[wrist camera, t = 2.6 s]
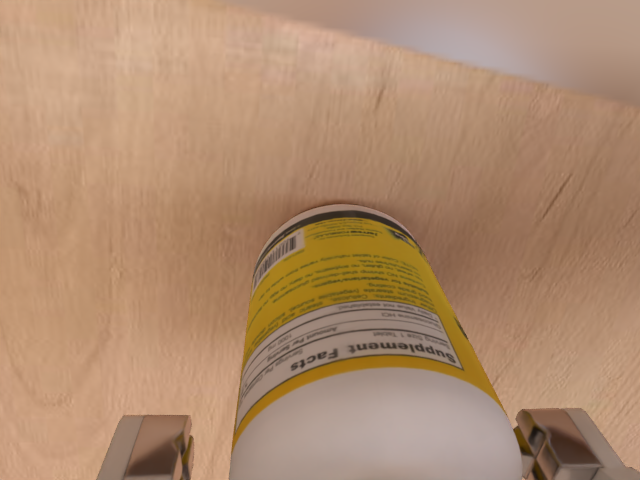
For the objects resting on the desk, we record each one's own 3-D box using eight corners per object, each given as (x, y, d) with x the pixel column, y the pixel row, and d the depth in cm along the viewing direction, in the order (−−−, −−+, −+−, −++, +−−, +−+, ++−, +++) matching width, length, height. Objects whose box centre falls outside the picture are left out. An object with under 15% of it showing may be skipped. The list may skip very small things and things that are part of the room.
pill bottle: (402, 342, 18) (527, 739, 9) (249, 333, 17) (200, 756, 8) (442, 205, 15) (705, 583, 6) (260, 187, 14) (203, 586, 5)
